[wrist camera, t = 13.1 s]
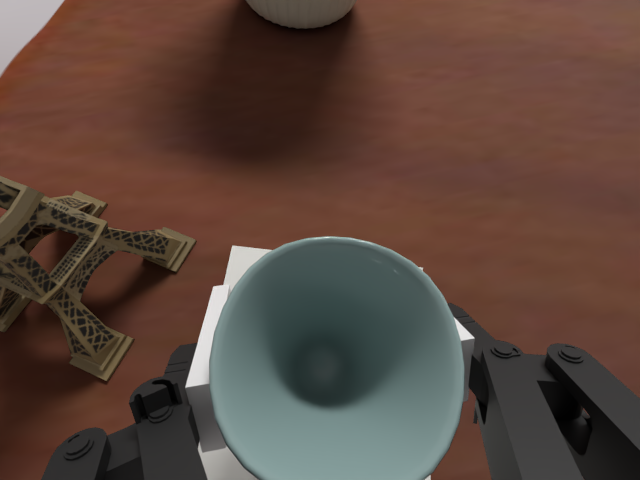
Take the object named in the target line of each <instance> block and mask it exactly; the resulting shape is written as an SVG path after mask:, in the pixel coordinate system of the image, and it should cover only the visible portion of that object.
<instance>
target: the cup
mask: <svg viewBox="0 0 640 480" xmlns="http://www.w3.org/2000/svg"><path fill="white" fill-rule="evenodd" d="M464 380H465V366H464V359H463V352H462V344H461V339H460V336H459V333H458V329H457V326H456V323H455V319H454V316H453V314H452V312H451V310H450V308H449V306H448V304H447V302H446V300H445V298H444V296H443V294H442V293H441V292H440V290H439V289H438V288H437V286H436V285H435V284H434V283H433V281H432V280H431V279H430V277H429V276H428V275H427V274H425V273H424V272H423V271H422V270H421V269H420V268H419V267H417V266H416V265H415V264H414V263H413V262H412V261H410V260H408V259H407V258H405V257H403V256H401V255H400V254H398V253H396V252H395V251H393V250H390V249H388V248H385V247H383V246H380V245H377V244H375V243H372V242H368V241H363V240H359V239H354V238H348V237H333V236H325V237H314V238H305V239H302V240H298V241H294V242H290V243H287V244H284V245H282V246H280V247H278V248H276V249H274V250H272V251H270V252H268V253H266V254H265V255H264V256H263V257H261V258H260V259H259V260H258V261H257V262H255V263H254V264H253V265H252V266H250V267H249V268H248V270H247V271H246V272H245V273H244V275H243V276H242V277H241V278H240V280H239V281H238V282H237V283H236V285H235V286H234V288H233V289H232V291H231V293H230V295H229V297H228V299H227V301H226V302H225V304H224V306H223V308H222V311H221V314H220V317H219V320H218V323H217V326H216V328H215V331H214V336H213V341H212V347H211V353H210V359H209V391H210V396H211V402H212V407H213V413H214V418H215V421H216V423H217V425H218V428H219V430H220V432H221V435H222V437H223V439H224V442H225V444H226V446H227V447H228V448H229V450H230V451H231V452H232V454H233V455H234V456H235V458H236V459H237V460H238V461H239V463H240V464H241V465H242V467H243V468H244V469H245V470H247V471H248V472H249V473H250V474H252V475H253V476H254V477H255V478H257V479H258V480H425V479H426V478H427V477H428V476H430V475H431V474H432V473H433V472H434V470H435V469H436V468H437V466H438V465H439V463H440V462H441V460H442V459H443V457H444V456H445V454H446V453H447V452H448V450H449V448H450V445H451V443H452V440H453V438H454V435H455V433H456V430H457V427H458V425H459V421H460V416H461V410H462V405H463V399H464Z"/></svg>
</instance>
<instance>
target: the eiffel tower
mask: <svg viewBox="0 0 640 480" xmlns="http://www.w3.org/2000/svg"><path fill="white" fill-rule="evenodd" d="M44 195H45V194H43V193H41V192H38V191H36V190H34V189H32V188H30V187H27V186H25V185H22V184H19V183H17V182H14V181H11V180H9V179H6V178H4V177H1V176H0V207H1V208H4V209H6V210H8V211H7V212H6V213H5V214H4V215H3V216H2V217H1V218H0V331H2V332H5V331H6V330H7V329H8V328H9V326H10V325H11V324H12V323H13V321H14V320H15V319H16V318H17V316H18V315H19V314H20V313H21V311H22V310H23V309H24V308H25V307H26V305H27V304H28V303H29V302H30V300H31V299H32V300H34V301H36V302H39V303H41V304H46V305H47V306H48V307H49V308H50V309H51V310H52V311H53V312H54V313H55V314H56V315H57V316H58V317H59V318H60V320H61V323H62V326H63V330H64V333H65V336H66V339H67V343H68V346H69V349H70V352H71V356H72V357H73V358H72V359H71V361H70V362H69V364H72V365H74V366H76V367H78V368H80V369H82V370H84V371H86V372H89V373H91V374H93V375H95V376H97V377H99V378H101V379H103V380H105V381H109V379H110V378H111V376H112V374H113V373H114V371H115V370H116V368H117V366H118V365H119V363H120V362H121V360H122V359H123V357H124V355H125V354H126V352H127V351H128V349H129V348H130V346H131V344H132V343H133V341H134V340H135V339H133V338H130V337H128V336H126V335H124V334H122V333H119V332H117V331H115V330H113V329H111V328H108V327H106V326H105V325H104V324H103V323H102V322H101V321H100V320H99V319H98V318H97V317H96V316H95V315H94V314H93V313H92V312H90V311H89V310H88V309H87V308H86V307H85V306H84V305H83V304H82V303H81V302H80V300H81V297H82V294H83V291H84V289H85V287H86V285H87V283H88V281H89V278H90V276H91V275H92V273H93V271H94V270H95V269H96V268H97V267H98V266H99V265H100V264H101V263H102V262H104V261H105V260H106V259H107V258H108V257H109V256H110V255H112V254H113V253H115V252H116V251H117V250H120V251H124V252H128V253H133V254H137V255H141V257H143V258H144V259H146V260H148V261H150V262H153V263H155V264H158V265H160V266H162V267H165V268H167V269H169V270H172V271H174V272H176V273H177V272H178V270H179V268H180V267H181V265H182V264H183V262H184V261H185V259H186V257H187V256H188V254H189V253H190V251H191V250H192V248H193V246H194V245H195V243H196V242H197V241H196V240H195V239H192V238H190V237H188V236H185V235H183V234H180V233H178V232H175V231H173V230H171V229H168V228H166V227H163V229H162V230H149V231H139V232H130V231H125V230H120V229H115V228H110V227H108V224H107V221H104V220H102V219H99V218H98V216H99V215H100V214H101V213H102V211H103V210H104V209H105V208H106V206H107V205H108V204H107V203H105V202H102V201H100V200H98V199H95V198H93V197H90V196H88V195H85V194H83V193H81V192H78V191H75V193H74V194H73V195H72V196H62V197H55V198H48V197H46V196H44ZM58 230H62V231H65V232H68V233H73V234H76V235H77V236H78V237H79V239H78V240H77V241H76V242H75V243H74V245H73V246H72V247H71V248H70V249H69V251H68V252H67V253H66V255H65V256H64V257H63V258H62V259H61V261H60V262H59V263H58V264H57V265H56V267H55V268H54V269H53V270H52V272H51V273H50V274H49V275H48V273H47V272H46V271H45V270H44V269H43V268H42V267H41V266H40V265H39V264H38V263H37V262H36V261H35V260H34V259H33V258H32V257H31V256H30V255H29V253H30V252H31V250H32V249H33V248H34V247H35V246H36V245H37V244H38V242H39V241H40V240H41V239H43V238H44V237H45V236H47V235H49V234H51V233H54V232H56V231H58Z"/></svg>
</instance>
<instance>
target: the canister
mask: <svg viewBox="0 0 640 480" xmlns="http://www.w3.org/2000/svg"><path fill="white" fill-rule="evenodd" d="M246 1H247V3H248V4H249V5H250V6H251V8H252V9H253V10H254V11H256V12H257V13H258V14H259V15H260V16H263V17H264V18H265V19H266V20H270V21H271V22H272V23H277V24H279V25H281V26H287V27H289V28H291V27H294V28H297V29H299V28H304V29H307V28H316V27H323V26H324V25H330V24H331V23H332V22H336V21H338V20H339V19H341V18H342V17H344V16H345V15H346V14H347V13H348V12H349V11H350V10H351V8H352V7H353V5H354V4H355V2H356V1H357V0H246Z"/></svg>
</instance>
